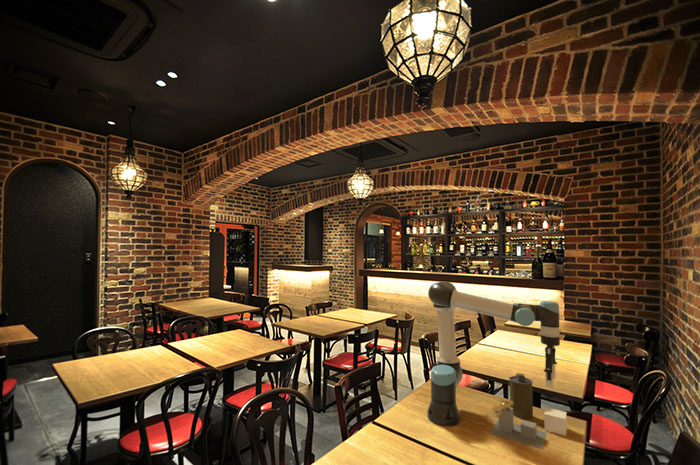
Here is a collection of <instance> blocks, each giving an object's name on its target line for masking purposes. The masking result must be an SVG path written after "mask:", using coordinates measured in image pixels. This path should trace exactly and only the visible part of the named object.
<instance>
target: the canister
mask: <svg viewBox="0 0 700 465" xmlns="http://www.w3.org/2000/svg"><path fill="white" fill-rule="evenodd" d="M508 380H509V400H510V401H513V405H511V404H510V408H513V417H515V418H518V419H522V420H531V419H533V418H534V406H533V403H534V402H533V381H532V379H530V378H527V377H526V376H525V374H524V373H516V375H515V376H514V375H513V376H509V378H508Z"/></svg>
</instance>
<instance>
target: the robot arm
mask: <svg viewBox="0 0 700 465" xmlns="http://www.w3.org/2000/svg"><path fill="white" fill-rule="evenodd" d="M427 294H428V299H429V300H430V301H431V303H432V305H433V308H434V309H435V311H436V319H437V320H436V321H437V331H438V332H437V334H438V346H439V347H438V350H439V351H438V353H439V356H438V357H437V358H436V365H434V366H433V367H432V368H431V371H430V401H429V406H428V408H427V419H428V420H429V421H431V422H432V423H434V424H436V425H439V426H445V427H450V426H456V425H458V424H459V423H460V422H461V415H460V412H459V409H458V405H457V387H458V385H459V384H460V383H461V381H462V379H463V376H464V375H463V368H462V366H461V360H460V358H459V357H458V356H457V344H456V343H457V342H456V328H455V315H454V314H455V313H454V310H455V309H456V308H458V309H461V310H466V311H470V312H473V313H478V314H482V315H486V316H489V317H494V318H497V319H498V318H499V319H502V320H505V321H510V322H513V323H516V324H519V325H520V326H523V327H529V326H531V325H533V323H534V322H540V325H539V326H540V343H541V344H543V345H546V346H545V348H544V351H545V354H544V355H545V356H544V357H545V364H544V365H545V366H544V367H545V368H544V369H543V372H545V387H546V388H549V389H550V388H551V389H553V388H554V380H557V379H556V366H557V365H558V362H557V361H556V350H557V349H556V348H555V347H558V346H560V344H561V341H560V340H561V339H560V332H562V330H561V329H560V306H559V303H558V302H557V301H552V300H541V301H540V303H539V304H528V303H520V302H519V303H508V302H504V301H500V300H496V299H495V300H494V299H491V298H487V297H482V296H478V295H474V294H470V293H465V292H461V291H458V290H457V289H456V286H455V285H454V284H453V283H452V282H449V281H444V280H441V281H438V282H435V283H433V284H432V285H430V287H429V289H428V292H427Z"/></svg>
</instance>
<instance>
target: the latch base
mask: <svg viewBox="0 0 700 465" xmlns="http://www.w3.org/2000/svg"><path fill="white" fill-rule="evenodd" d="M496 420H497V421H496V422H495V424H494V426H493V428H492V429H491V431H490V435H495V436H497V437H500V438H504V439H508V440H511V441H514V442H516V443H520V444H524V445H527V446H530V447H533V448H537V449H540V450H543V449H544V446H545V443H546V442H545V441H546V437H547V434H548V433H547V431H542V430H539V429H537V428H538V427H537V423H536V422H533V421H529V420H527V419H522V420H521V423H520V424H517V423H514V415H513V408H510V409H507V410H506V411H505V412H503V413H502V414H501V415H500V416H499V417H498V418H497V419H496Z"/></svg>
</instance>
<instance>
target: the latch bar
mask: <svg viewBox="0 0 700 465" xmlns="http://www.w3.org/2000/svg"><path fill="white" fill-rule="evenodd" d="M497 401H498V402H501V404H499V405H498V406H496V405H493V406H492V411H491V417H492V418H495V419H499V416H500V415H501V414H502V413H503V412H505V411H506V410H507V409H510V404H511V405H513V401H510V399H506V398H504V397H499V396H498V398H497Z"/></svg>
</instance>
